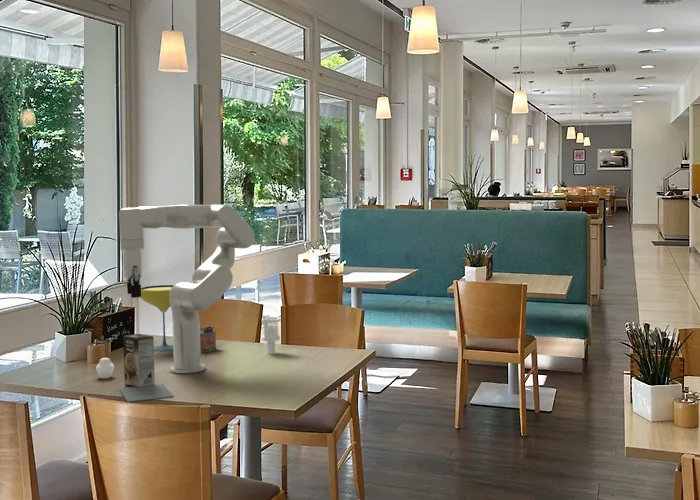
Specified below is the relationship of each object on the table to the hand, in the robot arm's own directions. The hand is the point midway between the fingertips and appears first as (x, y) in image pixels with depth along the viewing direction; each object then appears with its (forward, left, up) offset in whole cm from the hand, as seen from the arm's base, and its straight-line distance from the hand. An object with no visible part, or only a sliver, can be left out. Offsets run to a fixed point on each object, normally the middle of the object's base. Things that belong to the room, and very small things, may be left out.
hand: (134, 295), depth 258 cm
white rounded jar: (-10, -9, -29) cm, 32 cm away
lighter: (-38, +34, -29) cm, 59 cm away
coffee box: (+6, 0, -29) cm, 30 cm away
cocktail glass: (-50, +19, -29) cm, 61 cm away
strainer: (-21, +55, -29) cm, 66 cm away
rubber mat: (+18, 0, -29) cm, 34 cm away
